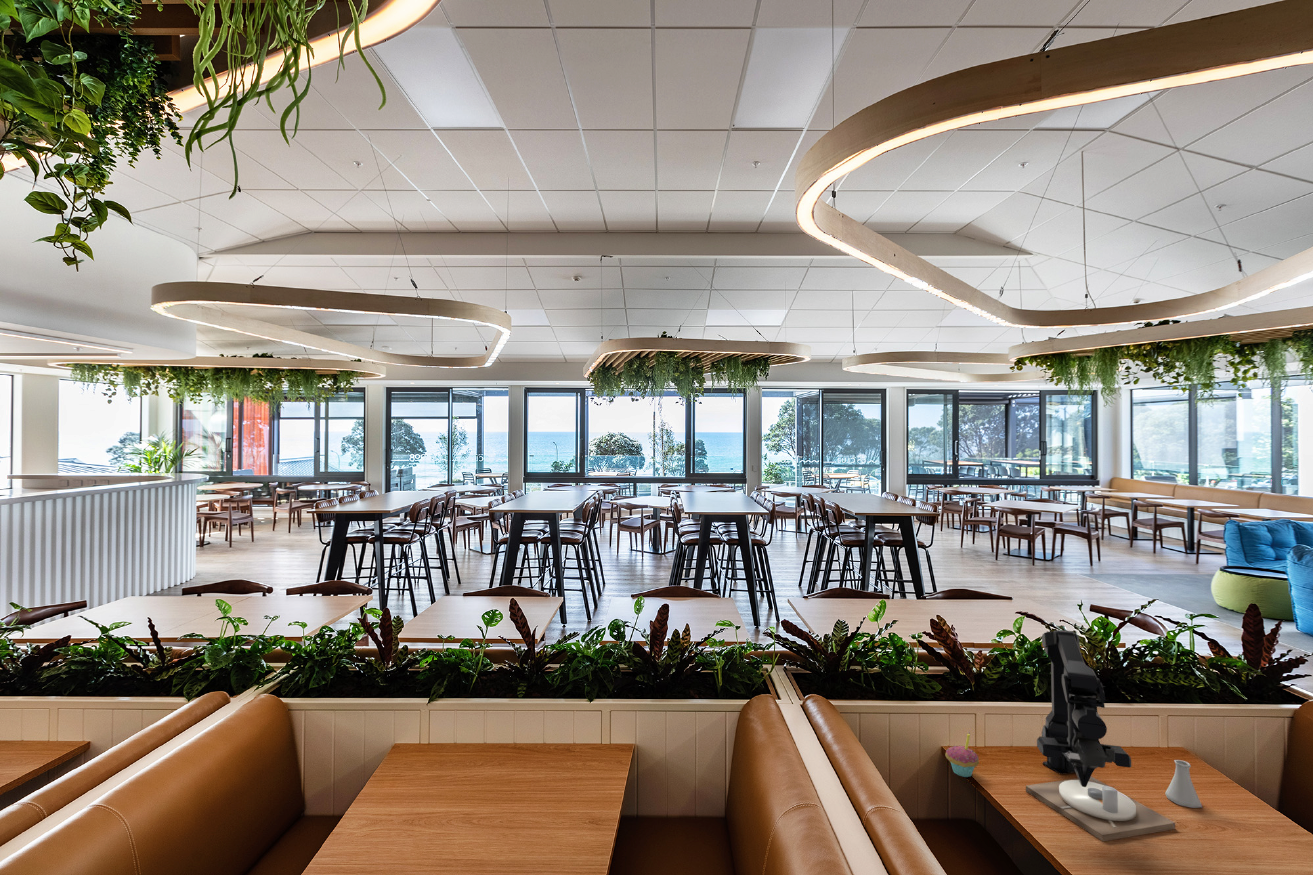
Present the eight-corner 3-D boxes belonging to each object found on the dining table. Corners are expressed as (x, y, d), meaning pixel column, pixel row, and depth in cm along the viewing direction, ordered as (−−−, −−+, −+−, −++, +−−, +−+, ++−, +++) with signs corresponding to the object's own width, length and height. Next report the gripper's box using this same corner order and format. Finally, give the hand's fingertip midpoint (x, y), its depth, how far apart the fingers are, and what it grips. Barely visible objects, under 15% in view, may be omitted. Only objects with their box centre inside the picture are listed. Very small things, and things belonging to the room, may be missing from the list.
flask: (1209, 810, 154) (1207, 770, 154) (1176, 807, 156) (1175, 767, 156) (1190, 795, 161) (1189, 757, 162) (1159, 792, 163) (1158, 754, 163)
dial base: (1025, 791, 163) (1025, 784, 163) (1091, 781, 168) (1091, 775, 168) (1102, 841, 141) (1102, 834, 141) (1175, 828, 146) (1175, 821, 146)
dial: (1047, 783, 164) (1046, 758, 164) (1111, 788, 161) (1111, 763, 162) (1079, 817, 148) (1079, 790, 148) (1151, 823, 146) (1150, 796, 146)
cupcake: (976, 768, 175) (975, 726, 175) (981, 783, 167) (981, 739, 167) (943, 763, 178) (943, 722, 178) (947, 777, 170) (947, 734, 170)
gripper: (1049, 731, 146) (1051, 796, 145) (1141, 742, 140) (1143, 810, 140) (1035, 712, 156) (1036, 774, 156) (1120, 722, 151) (1121, 785, 150)
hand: (1083, 786), depth 150 cm, fingers closed
